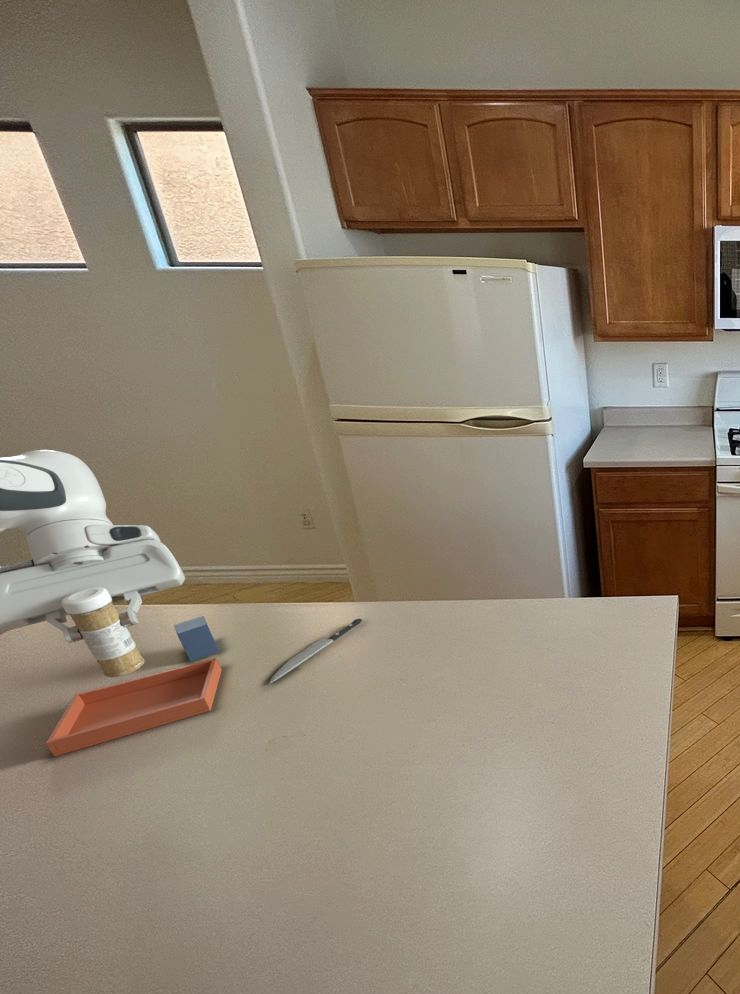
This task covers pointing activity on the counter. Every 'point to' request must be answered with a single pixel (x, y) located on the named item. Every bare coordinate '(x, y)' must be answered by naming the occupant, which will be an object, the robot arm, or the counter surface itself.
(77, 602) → the sprinkles bottle
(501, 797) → the counter surface
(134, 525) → the robot arm
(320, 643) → the chef's knife
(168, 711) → the tray
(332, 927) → the counter surface
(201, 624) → the blue block
